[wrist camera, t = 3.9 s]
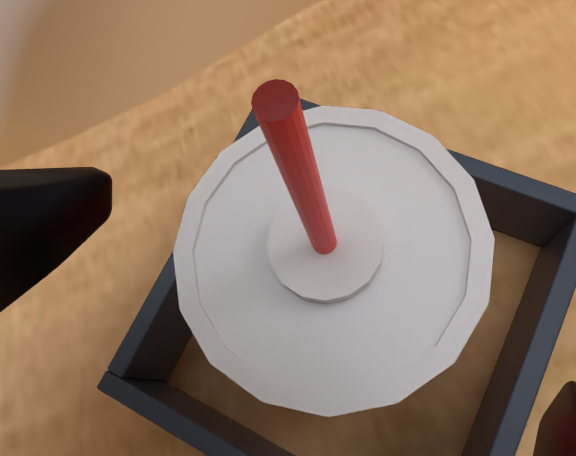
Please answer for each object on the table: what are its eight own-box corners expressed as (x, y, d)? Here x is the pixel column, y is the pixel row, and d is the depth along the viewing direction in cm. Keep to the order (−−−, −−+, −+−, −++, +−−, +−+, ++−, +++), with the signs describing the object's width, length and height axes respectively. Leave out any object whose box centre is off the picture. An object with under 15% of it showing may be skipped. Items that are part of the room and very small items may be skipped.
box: (442, 564, 15) (459, 610, 12) (145, 389, 18) (95, 387, 15) (564, 239, 18) (606, 202, 14) (282, 134, 21) (264, 85, 18)
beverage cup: (405, 438, 16) (510, 600, 3) (239, 364, 18) (-122, 279, 5) (462, 266, 18) (692, -89, 5) (303, 213, 20) (152, -161, 6)
